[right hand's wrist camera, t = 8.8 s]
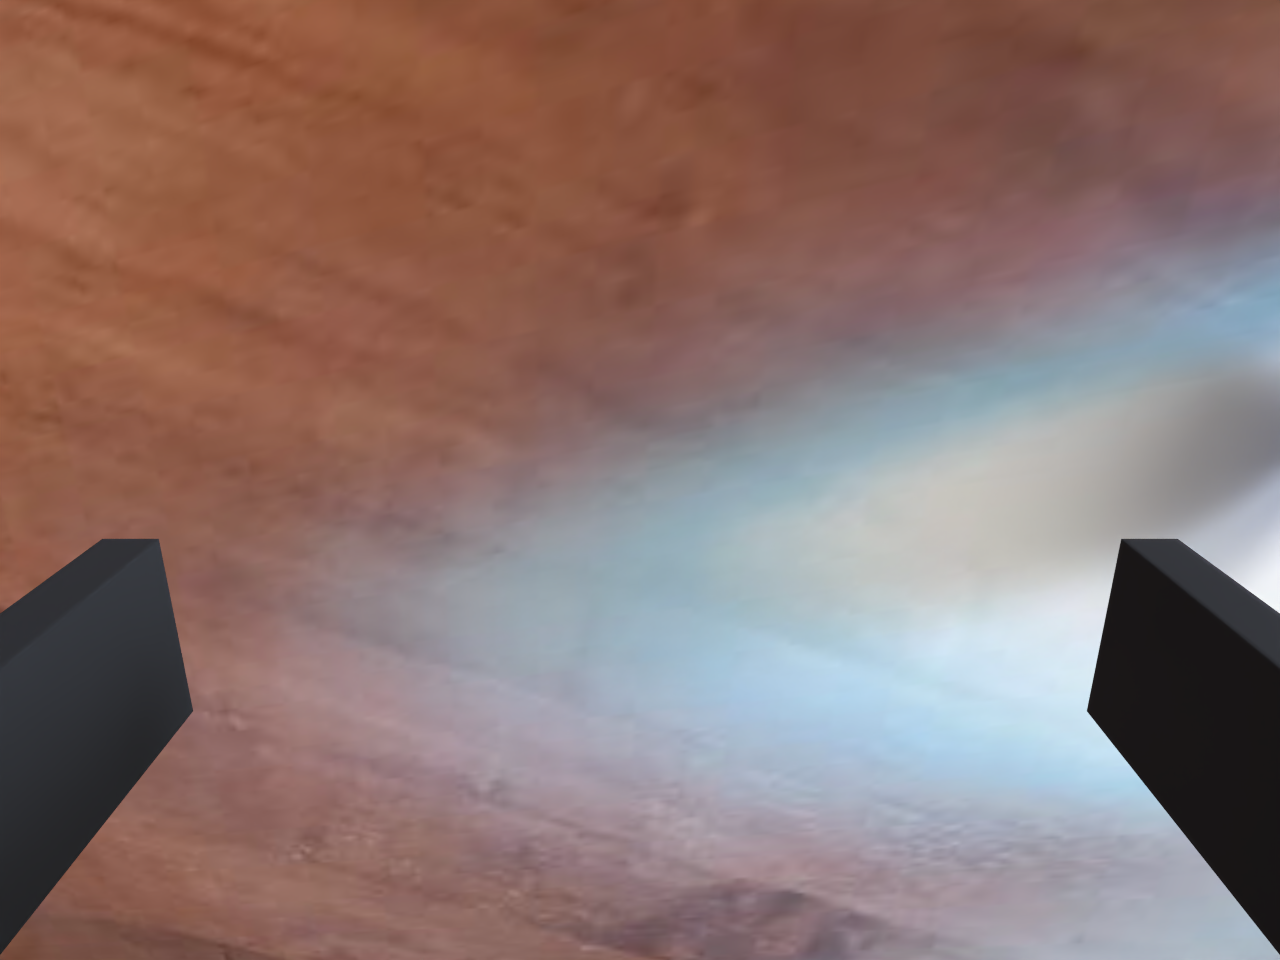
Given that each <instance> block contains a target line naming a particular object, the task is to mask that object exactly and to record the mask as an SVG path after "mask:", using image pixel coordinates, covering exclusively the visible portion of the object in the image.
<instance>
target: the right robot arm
mask: <svg viewBox="0 0 1280 960" xmlns="http://www.w3.org/2000/svg"><path fill="white" fill-rule="evenodd" d="M192 712H193V708H192V703H191V698H190V693H189V688H188V683H187V678H186V673H185V668H184V663H183V658H182V653H181V648H180V643H179V638H178V633H177V628H176V623H175V618H174V613H173V608H172V603H171V598H170V593H169V588H168V583H167V578H166V573H165V568H164V563H163V558H162V553H161V548H160V543H159V539H102V540H100V541H99V542H98V543H96V544H95V545H94V546H92V547H91V548H89V549H88V550H87V551H85V552H84V553H83V554H81V555H80V556H79V557H77V558H76V559H74V560H73V561H72V562H70V563H69V564H68V565H66V566H65V567H63V568H62V569H61V570H59V571H58V572H57V573H55V574H54V575H52V576H51V577H50V578H48V579H47V580H46V581H44V582H43V583H42V584H40V585H39V586H37V587H36V588H35V589H33V590H32V591H31V592H29V593H28V594H26V595H25V596H24V597H22V598H21V599H20V600H18V601H17V602H16V603H14V604H13V605H11V606H10V607H9V608H7V609H6V610H5V611H3V612H2V613H0V954H1V953H2V952H3V950H4V949H5V948H6V947H7V945H8V944H9V943H10V942H11V940H12V939H13V938H14V937H15V935H16V934H17V933H18V932H19V930H20V929H21V928H22V926H23V925H24V924H25V923H26V921H27V920H28V919H29V918H30V916H31V915H32V914H33V913H34V911H35V910H36V909H37V908H38V906H39V905H40V904H41V902H42V901H43V900H44V899H45V897H46V896H47V895H48V894H49V892H50V891H51V890H52V889H53V887H54V886H55V885H56V883H57V882H58V881H59V880H60V878H61V877H62V876H63V875H64V873H65V872H66V871H67V870H68V868H69V867H70V866H71V865H72V863H73V862H74V861H75V859H76V858H77V857H78V856H79V854H80V853H81V852H82V851H83V849H84V848H85V847H86V846H87V844H88V843H89V842H90V841H91V839H92V838H93V837H94V835H95V834H96V833H97V832H98V830H99V829H100V828H101V827H102V825H103V824H104V823H105V822H106V820H107V819H108V818H109V817H110V815H111V814H112V813H113V811H114V810H115V809H116V808H117V806H118V805H119V804H120V803H121V801H122V800H123V799H124V798H125V796H126V795H127V794H128V793H129V791H130V790H131V789H132V787H133V786H134V785H135V784H136V782H137V781H138V780H139V779H140V777H141V776H142V775H143V774H144V772H145V771H146V770H147V769H148V767H149V766H150V765H151V763H152V762H153V761H154V760H155V758H156V757H157V756H158V755H159V753H160V752H161V751H162V750H163V748H164V747H165V746H166V745H167V743H168V742H169V741H170V739H171V738H172V737H173V736H174V734H175V733H176V732H177V731H178V729H179V728H180V727H181V726H182V724H183V723H184V722H185V721H186V719H187V718H188V717H189V715H190V714H191V713H192ZM1087 712H1088V713H1089V714H1090V715H1091V717H1092V718H1093V719H1094V721H1095V722H1096V723H1097V724H1098V726H1099V727H1100V728H1101V729H1102V731H1103V732H1104V733H1105V734H1106V736H1107V737H1108V738H1109V739H1110V741H1111V742H1112V743H1113V745H1114V746H1115V747H1116V748H1117V750H1118V751H1119V752H1120V753H1121V755H1122V756H1123V757H1124V758H1125V760H1126V761H1127V762H1128V763H1129V765H1130V766H1131V767H1132V769H1133V770H1134V771H1135V772H1136V774H1137V775H1138V776H1139V777H1140V779H1141V780H1142V781H1143V782H1144V784H1145V785H1146V786H1147V787H1148V789H1149V790H1150V791H1151V793H1152V794H1153V795H1154V796H1155V798H1156V799H1157V800H1158V801H1159V803H1160V804H1161V805H1162V806H1163V808H1164V809H1165V810H1166V811H1167V813H1168V814H1169V815H1170V817H1171V818H1172V819H1173V820H1174V822H1175V823H1176V824H1177V825H1178V827H1179V828H1180V829H1181V830H1182V832H1183V833H1184V834H1185V835H1186V837H1187V838H1188V839H1189V841H1190V842H1191V843H1192V844H1193V846H1194V847H1195V848H1196V849H1197V851H1198V852H1199V853H1200V854H1201V856H1202V857H1203V858H1204V859H1205V861H1206V862H1207V863H1208V865H1209V866H1210V867H1211V868H1212V870H1213V871H1214V872H1215V873H1216V875H1217V876H1218V877H1219V878H1220V880H1221V881H1222V882H1223V884H1224V885H1225V886H1226V887H1227V889H1228V890H1229V891H1230V892H1231V894H1232V895H1233V896H1234V897H1235V899H1236V900H1237V901H1238V902H1239V904H1240V905H1241V906H1242V908H1243V909H1244V910H1245V911H1246V913H1247V914H1248V915H1249V916H1250V918H1251V919H1252V920H1253V921H1254V923H1255V924H1256V925H1257V926H1258V928H1259V929H1260V930H1261V932H1262V933H1263V934H1264V935H1265V937H1266V938H1267V939H1268V940H1269V942H1270V943H1271V944H1272V945H1273V947H1274V948H1275V949H1276V950H1277V952H1278V953H1279V954H1280V613H1278V612H1277V611H1275V610H1274V609H1273V608H1271V607H1270V606H1269V605H1267V604H1266V603H1264V602H1263V601H1262V600H1260V599H1259V598H1258V597H1256V596H1255V595H1254V594H1252V593H1251V592H1249V591H1248V590H1247V589H1245V588H1244V587H1243V586H1241V585H1240V584H1238V583H1237V582H1236V581H1234V580H1233V579H1232V578H1230V577H1229V576H1228V575H1226V574H1225V573H1223V572H1222V571H1221V570H1219V569H1218V568H1217V567H1215V566H1214V565H1212V564H1211V563H1210V562H1208V561H1207V560H1206V559H1204V558H1203V557H1201V556H1200V555H1199V554H1197V553H1196V552H1195V551H1193V550H1192V549H1191V548H1189V547H1188V546H1186V545H1185V544H1184V543H1182V542H1181V541H1180V540H1178V539H1121V543H1120V548H1119V553H1118V558H1117V563H1116V568H1115V573H1114V578H1113V583H1112V588H1111V593H1110V598H1109V603H1108V608H1107V613H1106V618H1105V623H1104V628H1103V633H1102V638H1101V643H1100V648H1099V653H1098V658H1097V663H1096V668H1095V673H1094V678H1093V683H1092V688H1091V693H1090V698H1089V703H1088V708H1087Z"/></svg>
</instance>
